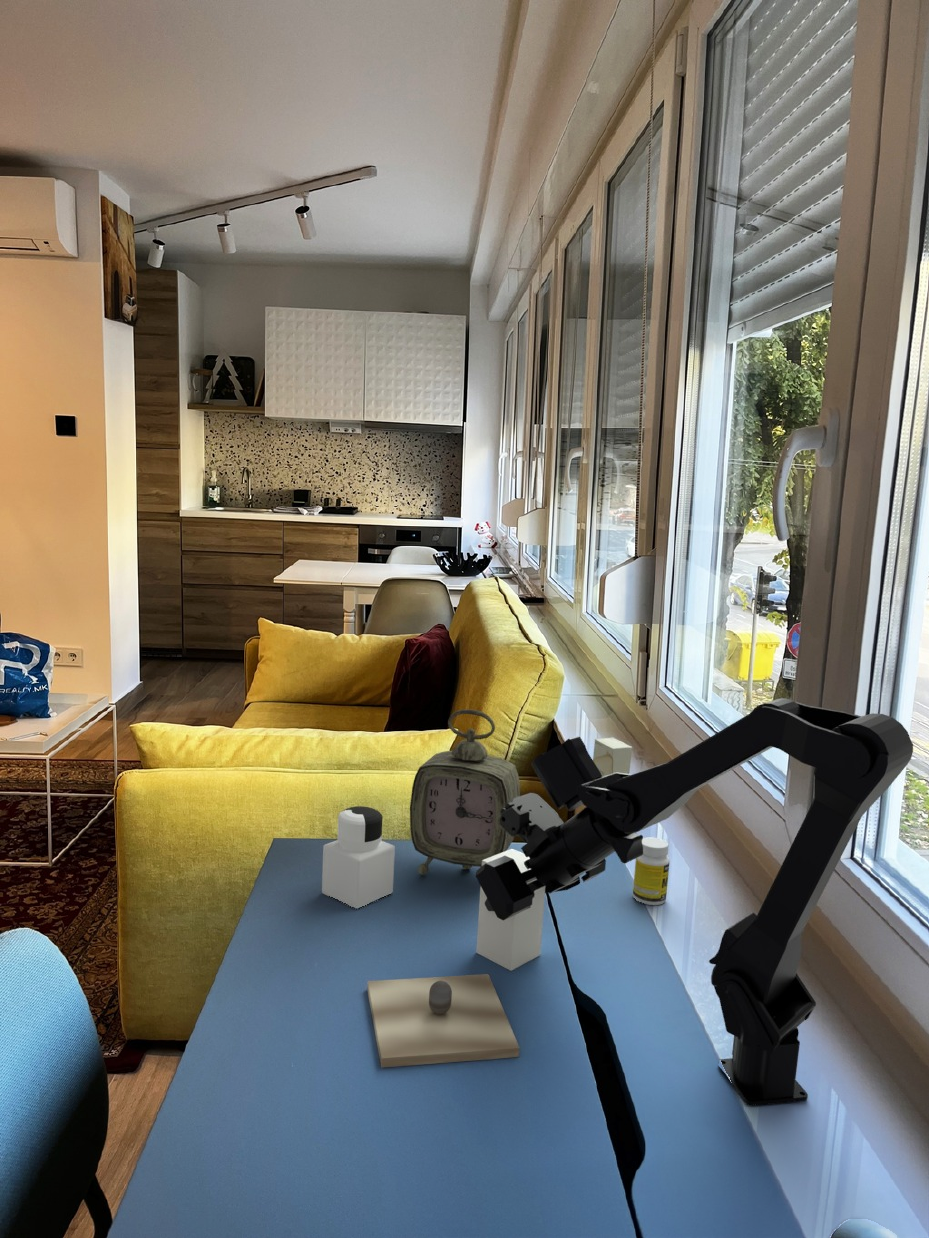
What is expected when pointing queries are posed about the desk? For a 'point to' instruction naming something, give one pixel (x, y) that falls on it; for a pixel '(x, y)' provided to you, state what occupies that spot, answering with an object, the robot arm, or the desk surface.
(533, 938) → the tall white pillar
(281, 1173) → the desk surface
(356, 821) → the medicine bottle
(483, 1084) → the desk surface
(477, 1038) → the post stand
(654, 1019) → the desk surface
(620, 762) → the skincare box
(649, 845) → the supplement bottle
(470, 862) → the tabletop clock
